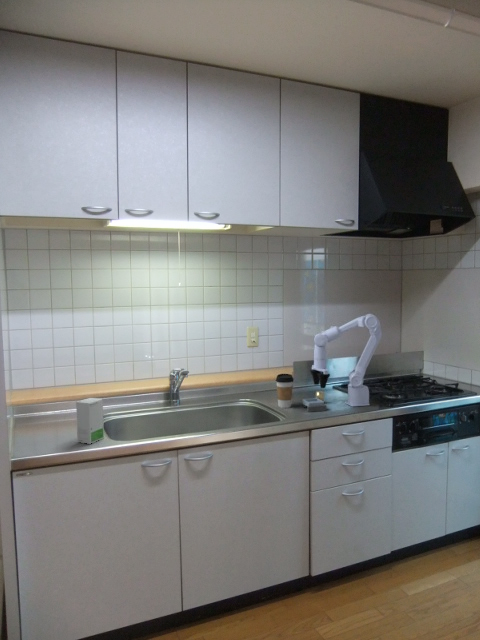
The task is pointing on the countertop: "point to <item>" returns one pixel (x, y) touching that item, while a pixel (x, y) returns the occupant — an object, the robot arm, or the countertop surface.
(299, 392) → the countertop surface
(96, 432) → the skincare box
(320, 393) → the brass cylinder
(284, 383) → the coffee cup
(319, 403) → the grey square tray
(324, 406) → the stop
